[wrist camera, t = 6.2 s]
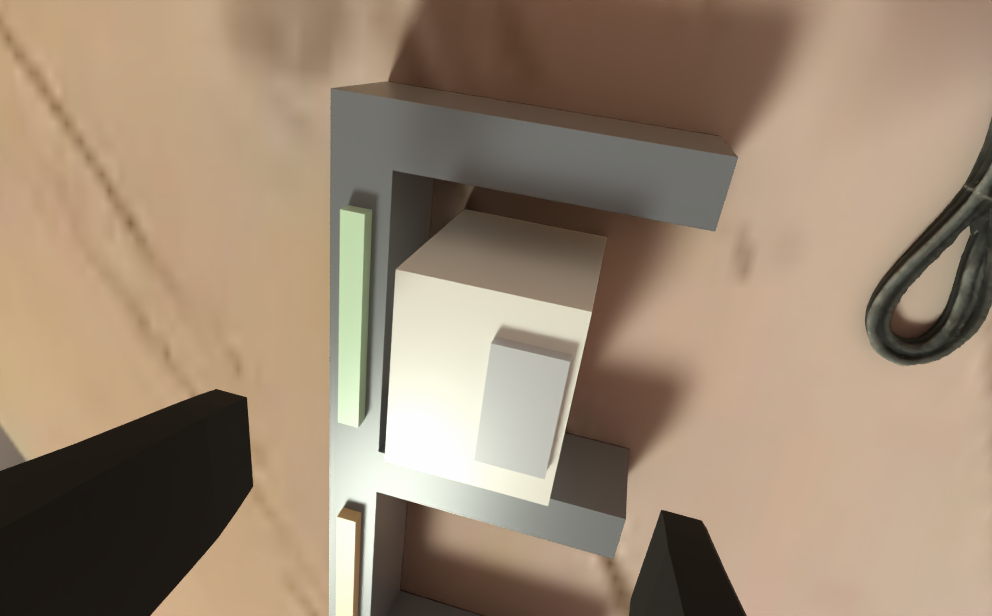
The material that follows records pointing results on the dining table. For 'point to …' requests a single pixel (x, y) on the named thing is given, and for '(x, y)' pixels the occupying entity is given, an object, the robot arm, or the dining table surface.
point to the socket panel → (404, 229)
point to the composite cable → (978, 283)
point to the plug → (490, 351)
